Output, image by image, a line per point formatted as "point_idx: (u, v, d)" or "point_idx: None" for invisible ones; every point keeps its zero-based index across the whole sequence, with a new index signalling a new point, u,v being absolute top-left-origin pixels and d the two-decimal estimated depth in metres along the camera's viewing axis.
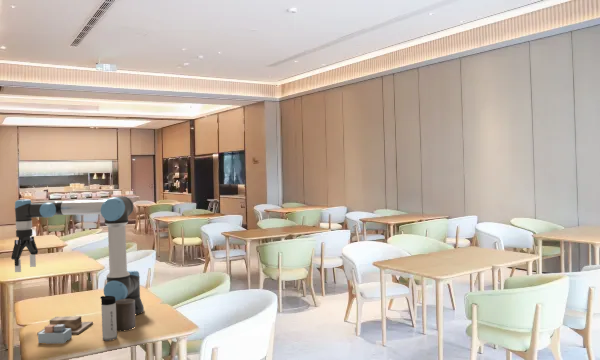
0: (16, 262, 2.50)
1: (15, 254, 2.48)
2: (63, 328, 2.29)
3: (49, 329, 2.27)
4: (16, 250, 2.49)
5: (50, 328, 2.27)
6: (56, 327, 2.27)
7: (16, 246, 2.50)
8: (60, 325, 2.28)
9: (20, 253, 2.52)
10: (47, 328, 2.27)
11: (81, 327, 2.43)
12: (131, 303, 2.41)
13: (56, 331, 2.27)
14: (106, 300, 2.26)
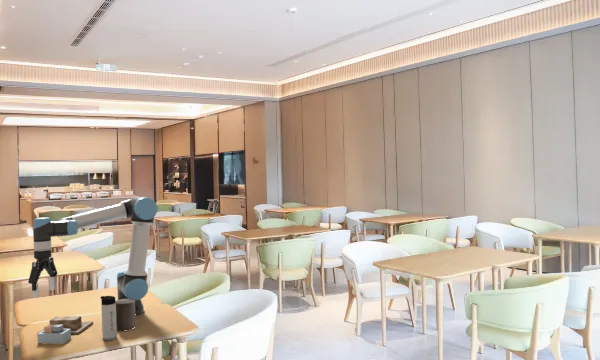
0: (33, 286, 2.29)
1: (32, 278, 2.28)
2: (61, 328, 2.28)
3: (48, 329, 2.26)
4: (34, 273, 2.29)
5: (49, 328, 2.26)
6: (54, 327, 2.26)
7: (34, 269, 2.29)
8: (58, 325, 2.28)
9: (38, 276, 2.31)
10: (46, 328, 2.26)
11: (81, 327, 2.43)
12: (131, 303, 2.41)
13: (54, 331, 2.26)
14: (106, 300, 2.26)
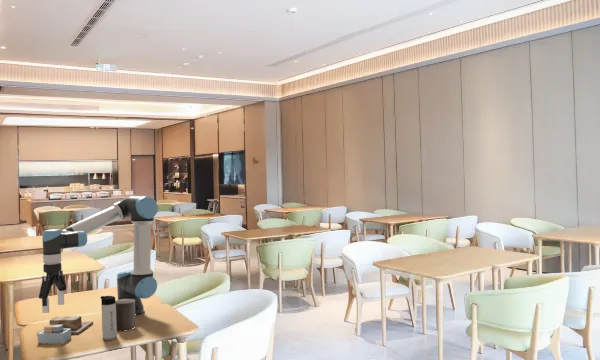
0: (44, 302, 2.20)
1: (43, 293, 2.19)
2: (61, 328, 2.28)
3: (49, 329, 2.26)
4: (44, 288, 2.19)
5: (50, 328, 2.26)
6: (54, 327, 2.26)
7: (44, 283, 2.20)
8: (58, 325, 2.28)
9: (48, 291, 2.22)
10: (47, 328, 2.26)
11: (81, 327, 2.43)
12: (131, 303, 2.41)
13: (54, 331, 2.26)
14: (106, 300, 2.26)
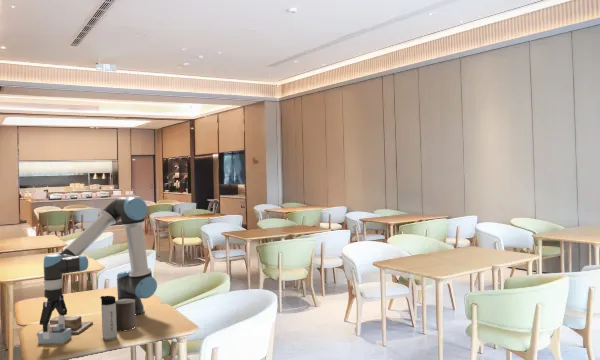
0: (45, 328, 2.20)
1: (44, 319, 2.19)
2: (61, 328, 2.29)
3: None
4: (45, 314, 2.20)
5: (50, 328, 2.27)
6: (54, 327, 2.27)
7: (45, 309, 2.21)
8: (58, 325, 2.28)
9: (49, 317, 2.22)
10: None
11: (81, 327, 2.43)
12: (131, 303, 2.41)
13: (54, 331, 2.27)
14: (106, 300, 2.26)
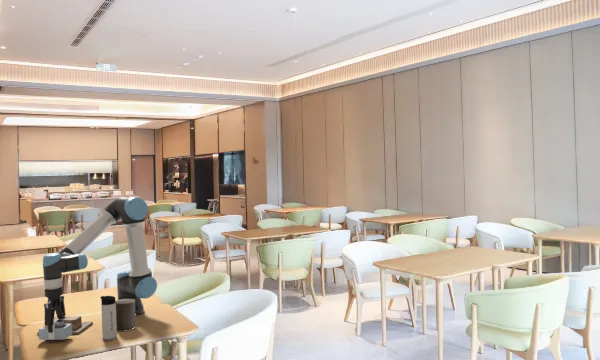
0: (50, 328, 2.23)
1: (48, 320, 2.22)
2: (62, 323, 2.29)
3: None
4: (48, 316, 2.22)
5: None
6: (55, 322, 2.27)
7: (47, 311, 2.22)
8: (59, 320, 2.29)
9: (53, 317, 2.25)
10: None
11: (81, 327, 2.43)
12: (131, 303, 2.41)
13: (55, 326, 2.27)
14: (106, 300, 2.26)
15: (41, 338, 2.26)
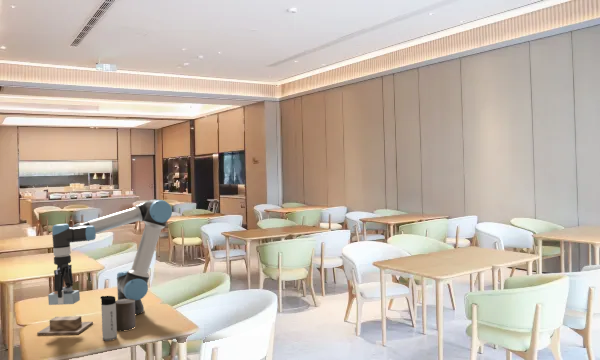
0: (59, 294, 2.37)
1: (58, 286, 2.35)
2: (70, 290, 2.43)
3: None
4: (58, 281, 2.35)
5: None
6: (64, 289, 2.41)
7: (57, 277, 2.35)
8: (67, 287, 2.42)
9: (62, 283, 2.38)
10: None
11: (81, 327, 2.43)
12: (131, 303, 2.41)
13: (64, 292, 2.41)
14: (106, 300, 2.26)
15: (50, 303, 2.39)
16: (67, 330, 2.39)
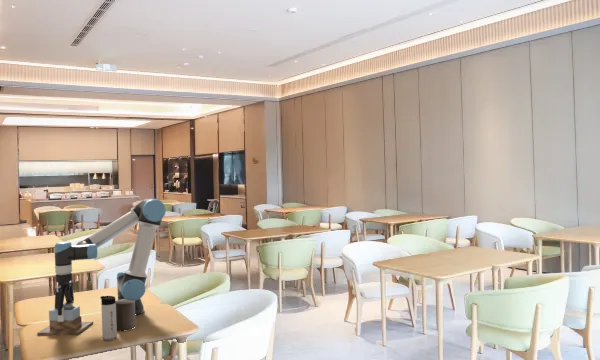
0: (59, 311, 2.39)
1: (58, 304, 2.37)
2: (71, 306, 2.45)
3: None
4: (58, 299, 2.37)
5: None
6: (64, 305, 2.43)
7: (57, 295, 2.38)
8: (68, 303, 2.44)
9: (62, 301, 2.40)
10: None
11: (81, 327, 2.43)
12: (131, 303, 2.41)
13: (64, 308, 2.43)
14: (106, 300, 2.26)
15: (51, 319, 2.41)
16: (67, 330, 2.39)
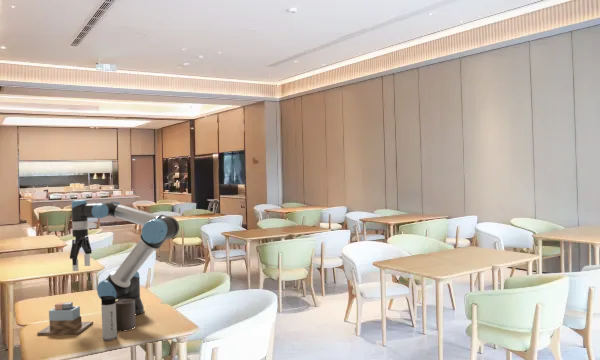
0: (74, 261, 2.55)
1: (73, 253, 2.53)
2: (71, 306, 2.45)
3: (59, 306, 2.42)
4: (74, 249, 2.54)
5: (60, 306, 2.42)
6: (64, 305, 2.43)
7: (74, 246, 2.55)
8: (68, 303, 2.44)
9: (77, 252, 2.57)
10: (57, 306, 2.42)
11: (81, 327, 2.43)
12: (131, 303, 2.41)
13: (64, 308, 2.43)
14: (106, 300, 2.26)
15: (51, 319, 2.41)
16: (67, 330, 2.39)
